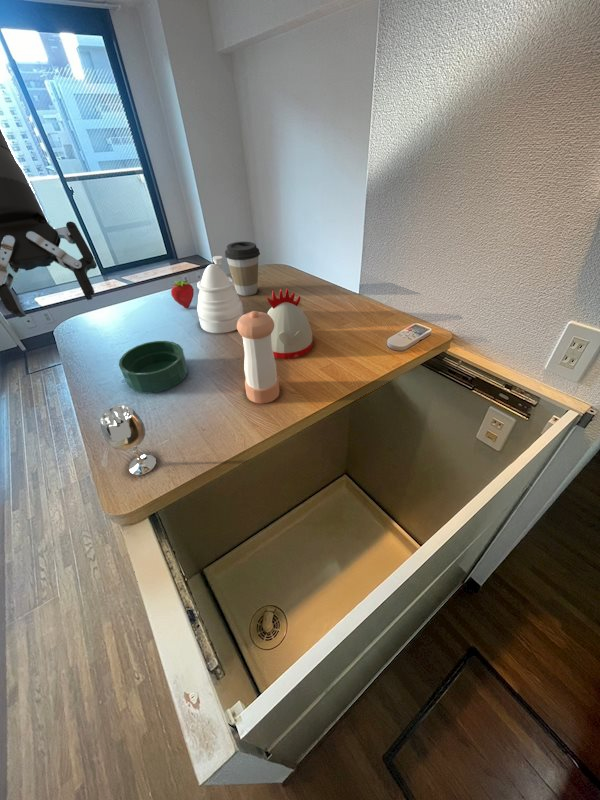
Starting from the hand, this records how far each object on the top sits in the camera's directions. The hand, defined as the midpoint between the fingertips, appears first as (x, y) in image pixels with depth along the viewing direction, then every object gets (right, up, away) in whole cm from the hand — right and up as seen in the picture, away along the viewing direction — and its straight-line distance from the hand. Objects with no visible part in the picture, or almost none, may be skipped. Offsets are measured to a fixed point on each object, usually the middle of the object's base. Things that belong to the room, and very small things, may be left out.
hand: (56, 306), depth 46 cm
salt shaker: (+26, -12, +26) cm, 39 cm away
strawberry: (-2, +16, +58) cm, 60 cm away
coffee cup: (+16, +24, +67) cm, 73 cm away
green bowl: (+1, -8, +31) cm, 32 cm away
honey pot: (+11, +10, +51) cm, 53 cm away
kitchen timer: (+31, +2, +41) cm, 51 cm away
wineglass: (+7, -25, +12) cm, 28 cm away
